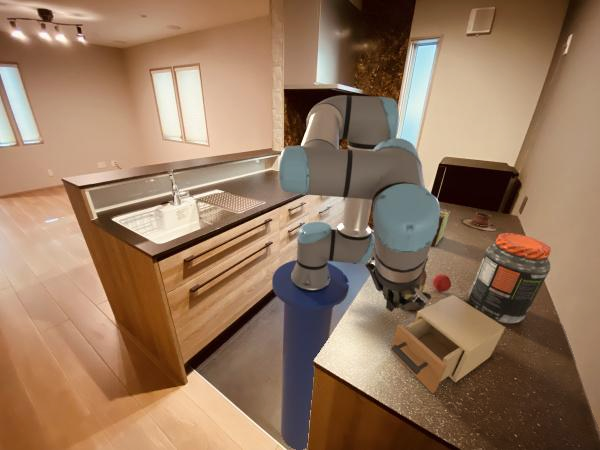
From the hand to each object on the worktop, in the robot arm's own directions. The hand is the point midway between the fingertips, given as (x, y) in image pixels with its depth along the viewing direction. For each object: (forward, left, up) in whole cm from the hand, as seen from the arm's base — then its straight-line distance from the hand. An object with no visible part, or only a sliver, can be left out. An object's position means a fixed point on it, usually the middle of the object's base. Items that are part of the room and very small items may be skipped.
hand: (392, 305), depth 59 cm
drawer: (+7, +8, -16) cm, 19 cm away
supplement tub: (+4, +49, -17) cm, 52 cm away
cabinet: (+7, +19, -16) cm, 26 cm away
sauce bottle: (-10, +23, -17) cm, 30 cm away
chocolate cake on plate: (-40, +125, -17) cm, 132 cm away
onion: (-10, +40, -17) cm, 44 cm away
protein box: (-41, +76, -17) cm, 88 cm away
